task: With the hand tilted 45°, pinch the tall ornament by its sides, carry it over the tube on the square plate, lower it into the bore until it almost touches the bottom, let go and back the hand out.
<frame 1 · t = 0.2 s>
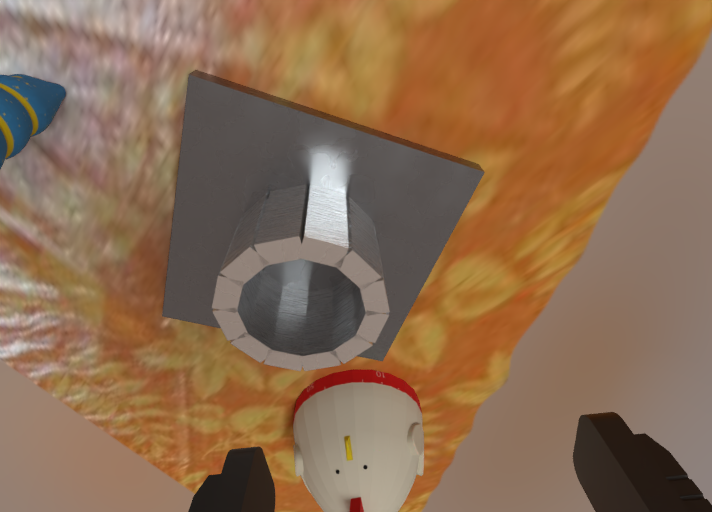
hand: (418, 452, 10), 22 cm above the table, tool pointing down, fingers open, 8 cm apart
tube on square plate: (309, 240, 33), on the table
kitchen timer: (357, 409, 46), on the table
ornament: (59, 90, 26), on the table
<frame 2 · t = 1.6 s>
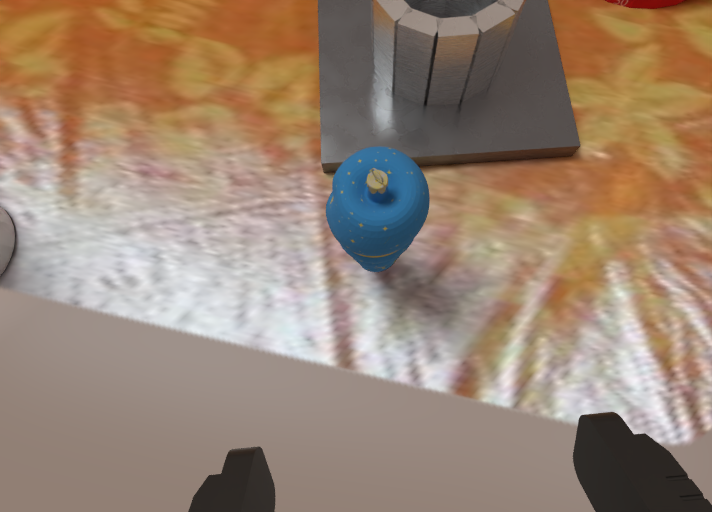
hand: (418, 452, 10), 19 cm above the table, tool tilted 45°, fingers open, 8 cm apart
tube on square plate: (434, 63, 36), on the table
ornament: (378, 264, 31), on the table
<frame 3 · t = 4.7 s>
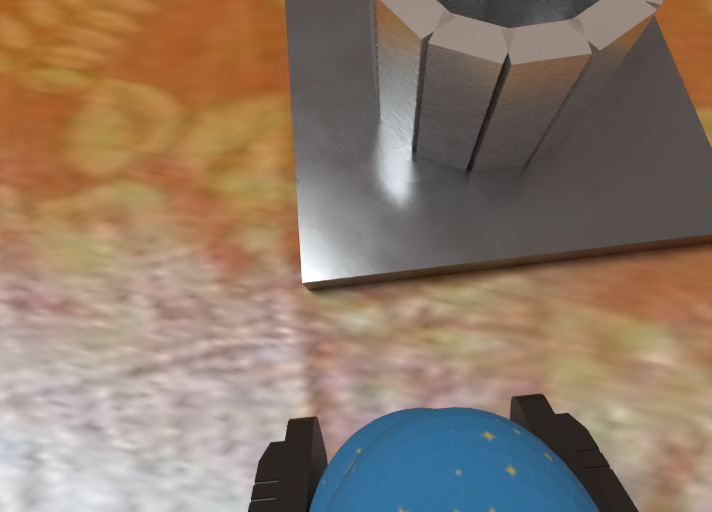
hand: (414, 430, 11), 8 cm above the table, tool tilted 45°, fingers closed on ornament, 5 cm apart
tube on square plate: (471, 98, 23), on the table
ornament: (410, 457, 18), on the table, touching gripper
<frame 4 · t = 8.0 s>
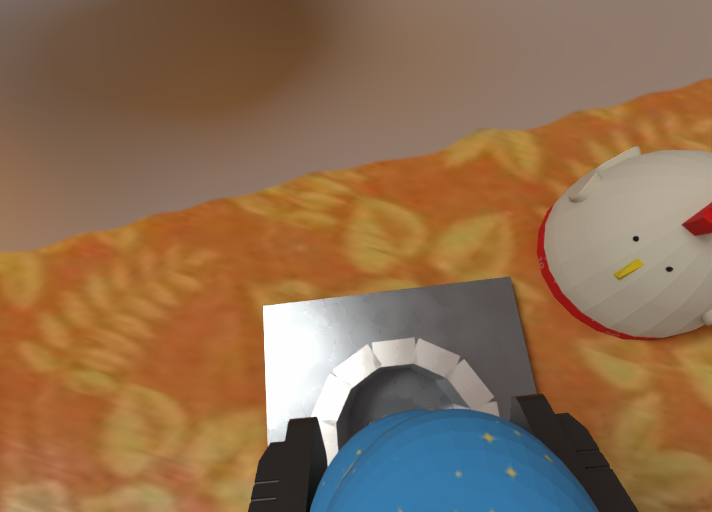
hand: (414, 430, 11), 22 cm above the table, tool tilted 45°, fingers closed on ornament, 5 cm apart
tube on square plate: (401, 422, 31), on the table
kitchen timer: (622, 256, 34), on the table
ornament: (410, 457, 18), point 14 cm above the table, touching gripper
when the fingers open (10 cm above the table, at t = 11.5 s): ornament stays where it is, resting on tube on square plate.
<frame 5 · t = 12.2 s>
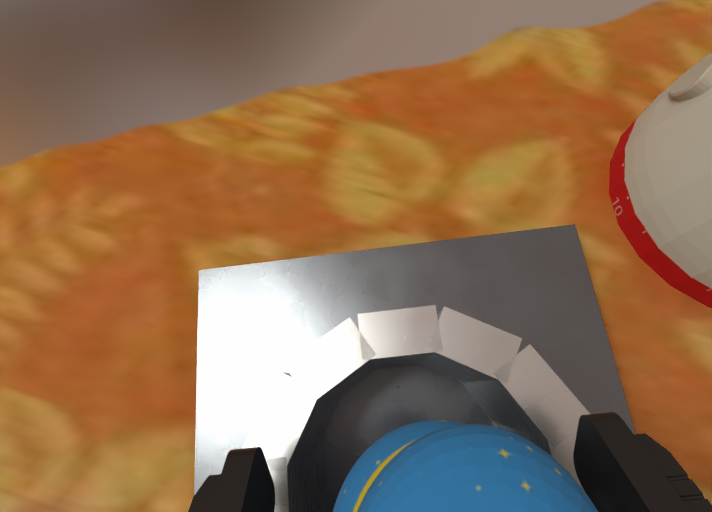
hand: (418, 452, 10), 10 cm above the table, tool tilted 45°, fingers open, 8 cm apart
tube on square plate: (408, 450, 20), on the table
ornament: (414, 459, 19), point 1 cm above the table, touching tube on square plate
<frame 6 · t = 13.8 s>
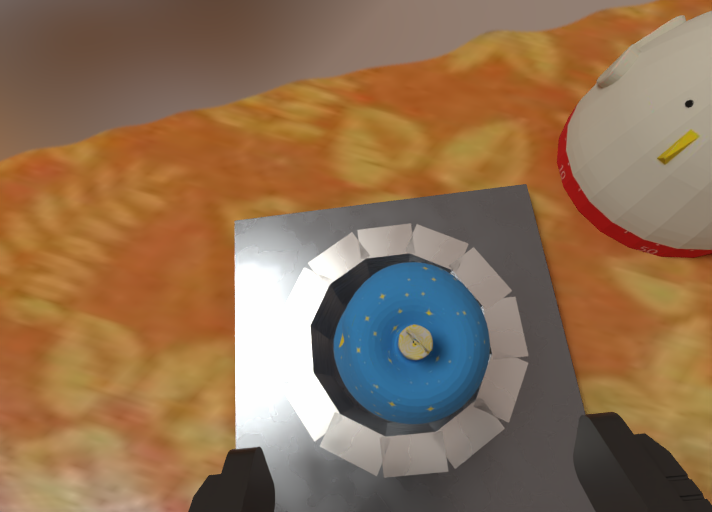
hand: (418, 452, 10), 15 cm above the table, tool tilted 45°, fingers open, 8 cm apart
tube on square plate: (396, 354, 26), on the table
kitchen timer: (658, 165, 29), on the table
ornament: (400, 355, 25), point 1 cm above the table, touching tube on square plate
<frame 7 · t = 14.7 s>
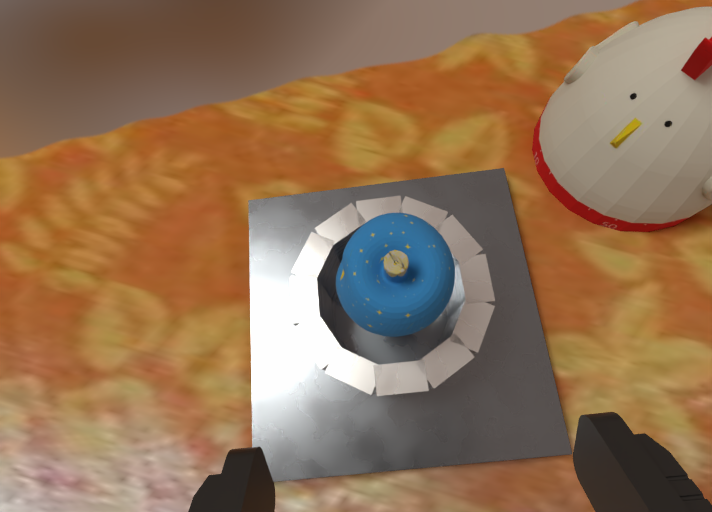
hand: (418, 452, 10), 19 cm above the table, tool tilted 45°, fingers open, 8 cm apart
tube on square plate: (390, 314, 30), on the table
kitchen timer: (620, 152, 33), on the table
ornament: (393, 314, 29), point 1 cm above the table, touching tube on square plate
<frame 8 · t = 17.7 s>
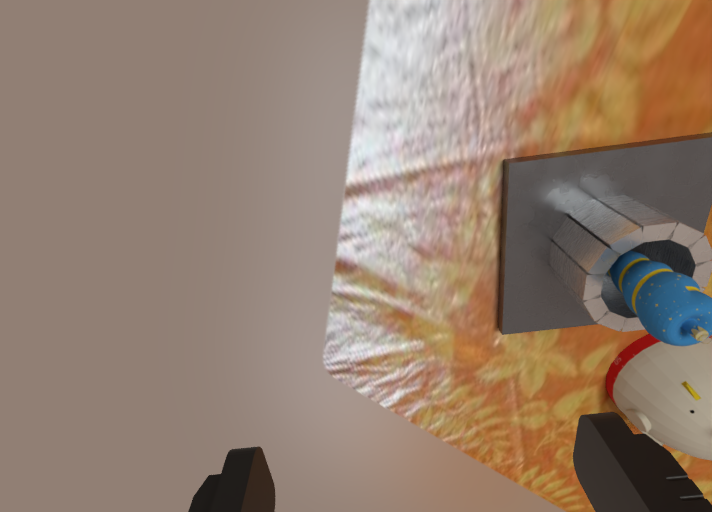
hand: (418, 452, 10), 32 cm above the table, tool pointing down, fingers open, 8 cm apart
tube on square plate: (595, 240, 43), on the table
kitchen timer: (660, 369, 52), on the table
ornament: (599, 247, 42), point 1 cm above the table, touching tube on square plate
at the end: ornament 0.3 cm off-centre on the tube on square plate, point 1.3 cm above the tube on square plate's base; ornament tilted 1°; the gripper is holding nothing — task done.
